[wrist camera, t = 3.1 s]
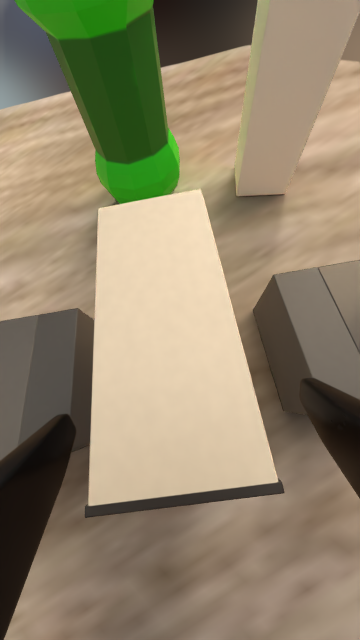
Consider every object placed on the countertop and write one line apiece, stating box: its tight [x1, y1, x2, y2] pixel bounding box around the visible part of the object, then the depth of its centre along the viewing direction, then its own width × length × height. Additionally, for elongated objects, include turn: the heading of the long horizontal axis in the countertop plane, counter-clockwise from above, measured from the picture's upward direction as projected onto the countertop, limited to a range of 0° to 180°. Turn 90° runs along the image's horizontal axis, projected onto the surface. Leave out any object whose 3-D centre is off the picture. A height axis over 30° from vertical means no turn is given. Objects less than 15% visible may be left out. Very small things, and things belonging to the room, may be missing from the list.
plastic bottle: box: [15, 0, 180, 204], centre depth 15 cm, size 10×10×25 cm
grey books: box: [0, 260, 360, 460], centre depth 15 cm, size 9×26×6 cm, turn 98°
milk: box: [235, 0, 360, 196], centre depth 16 cm, size 6×6×22 cm
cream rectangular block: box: [85, 189, 284, 518], centre depth 12 cm, size 9×4×13 cm, turn 8°
